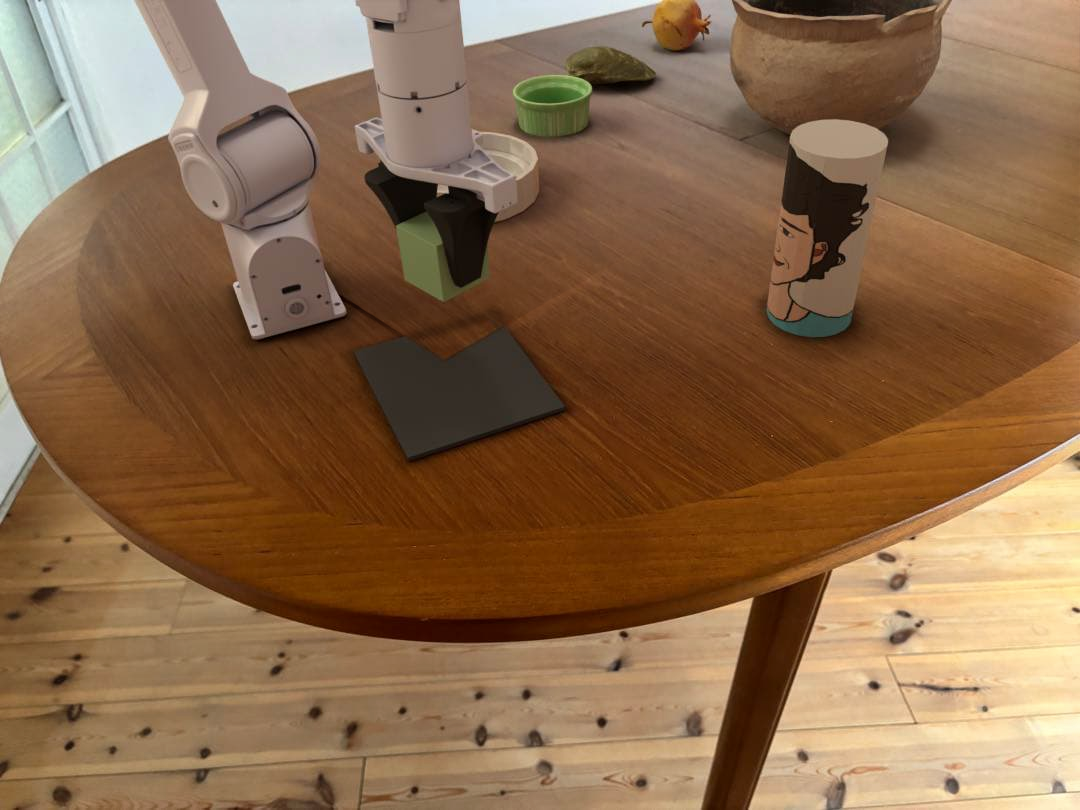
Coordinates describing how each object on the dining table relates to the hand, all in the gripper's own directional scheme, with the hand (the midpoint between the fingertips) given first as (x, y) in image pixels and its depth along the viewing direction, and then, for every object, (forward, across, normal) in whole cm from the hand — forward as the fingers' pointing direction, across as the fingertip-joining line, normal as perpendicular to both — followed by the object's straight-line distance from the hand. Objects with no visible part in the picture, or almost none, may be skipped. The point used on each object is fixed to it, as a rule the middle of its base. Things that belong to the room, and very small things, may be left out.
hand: (445, 268), depth 66 cm
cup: (+9, -16, -24) cm, 30 cm away
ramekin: (+9, +26, -37) cm, 47 cm away
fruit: (+9, +32, -67) cm, 75 cm away
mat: (+8, -2, +2) cm, 9 cm away
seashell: (+9, +31, -52) cm, 61 cm away
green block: (+1, 0, 0) cm, 1 cm away
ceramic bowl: (+9, +3, -57) cm, 57 cm away
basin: (+8, +20, -19) cm, 29 cm away
